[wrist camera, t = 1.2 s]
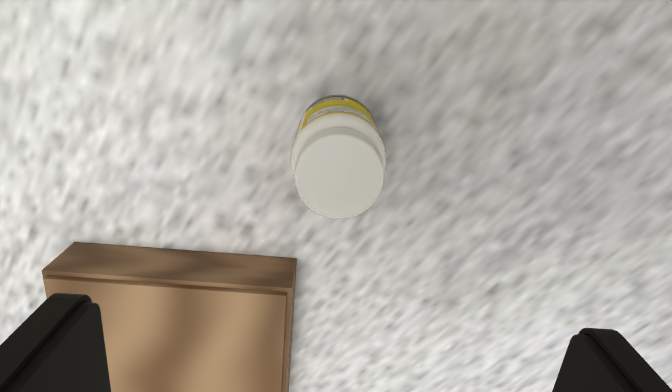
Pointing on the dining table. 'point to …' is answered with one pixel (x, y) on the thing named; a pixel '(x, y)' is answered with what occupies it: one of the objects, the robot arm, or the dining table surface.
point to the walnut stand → (185, 316)
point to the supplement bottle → (338, 158)
